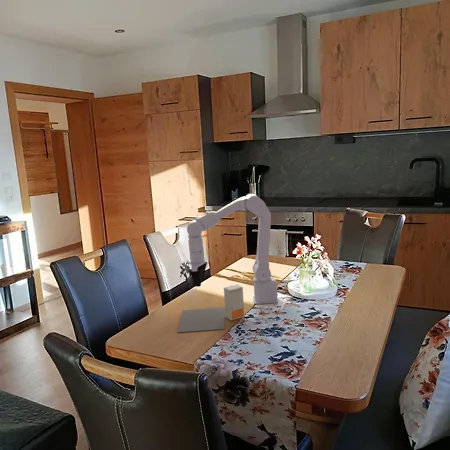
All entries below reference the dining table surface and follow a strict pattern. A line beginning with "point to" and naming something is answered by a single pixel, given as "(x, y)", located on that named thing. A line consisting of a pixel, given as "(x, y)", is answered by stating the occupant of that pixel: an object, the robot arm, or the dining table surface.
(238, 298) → the skincare box
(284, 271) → the dining table surface
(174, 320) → the dining table surface
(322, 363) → the dining table surface
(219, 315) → the mat
